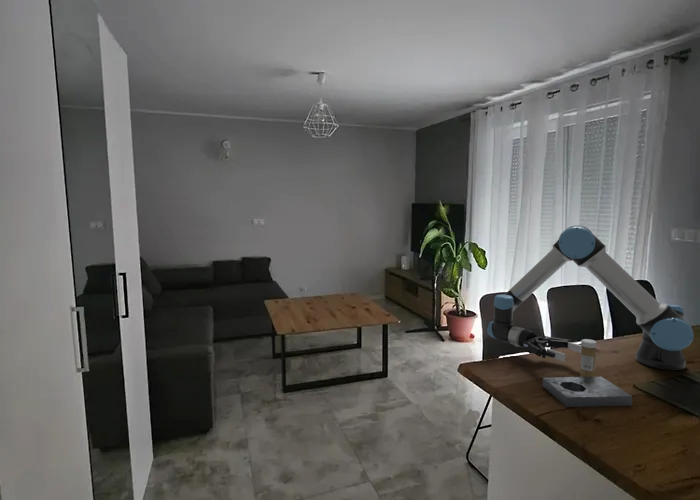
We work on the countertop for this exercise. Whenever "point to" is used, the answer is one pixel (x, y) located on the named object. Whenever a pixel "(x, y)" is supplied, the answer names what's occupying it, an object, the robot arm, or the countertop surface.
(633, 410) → the countertop surface
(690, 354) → the countertop surface
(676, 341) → the robot arm
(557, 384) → the jig
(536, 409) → the countertop surface
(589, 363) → the sprinkles bottle
